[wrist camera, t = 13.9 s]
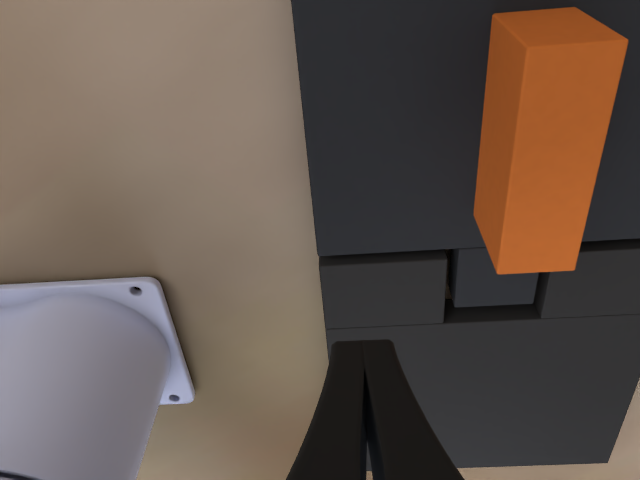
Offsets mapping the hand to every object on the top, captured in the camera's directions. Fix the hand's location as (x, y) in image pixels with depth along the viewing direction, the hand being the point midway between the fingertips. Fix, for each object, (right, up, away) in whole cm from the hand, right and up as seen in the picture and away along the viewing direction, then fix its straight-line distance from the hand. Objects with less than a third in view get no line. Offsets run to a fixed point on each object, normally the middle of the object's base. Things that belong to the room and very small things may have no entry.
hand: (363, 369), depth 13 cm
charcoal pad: (+6, +7, +7) cm, 11 cm away
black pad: (+6, -2, +13) cm, 15 cm away
